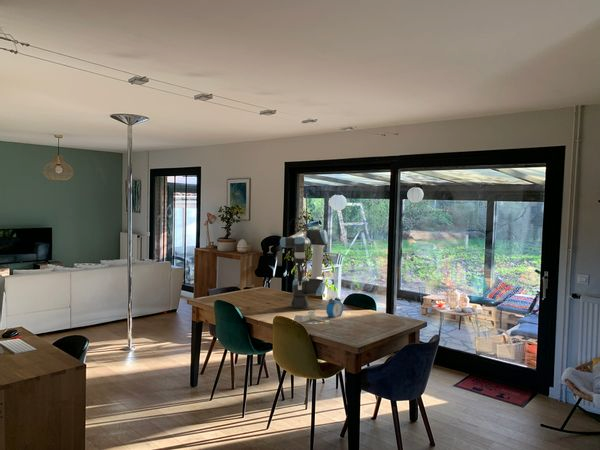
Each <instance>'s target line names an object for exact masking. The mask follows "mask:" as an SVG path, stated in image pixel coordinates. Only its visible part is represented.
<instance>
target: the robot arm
mask: <svg viewBox="0 0 600 450" xmlns="http://www.w3.org/2000/svg"><path fill="white" fill-rule="evenodd" d="M328 241H329V238H328V233H327V231H326V229H318V228H316V229H315V228H309V229H308V228H307V229H303V230H300V231H298V232H296V233H295V234H293V235H290V236H288V237H286V236H285V237H284V236H283V237H281V238H280V239H279V245H280V246H281V247H282V248H294V253H293V255H294V263H295V264H297V265H296V271H297V274H296V275H297V276H296V277H297V278H295V279H294V280H293V281H292V297H291V302H290V308H291V309H292V308H293V309H307V308H309V306H310V305H309V301H308V298H307V297H308V296H317V297H318V296H323V295H324V293H325V290H326V282H325V281H324V278H323V275H322V274H323V258H324V248H325V247H326V245H327V244H328ZM310 245H311V247H312V260H311V274H310V275H311V276H310V277H309V279H308V278H306V277H303V273H304V272H303V270H304V269H303V268H304V265H303V264H305V263H306V248H308V247H310Z"/></svg>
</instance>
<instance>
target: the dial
mask: <svg viewBox="0 0 600 450" xmlns="http://www.w3.org/2000/svg"><path fill="white" fill-rule="evenodd" d="M301 316H302V322H306V321H309V320H310V321H314V320H317V321H322V322H326V321H323V320H318V319H316V316H317V313H316V311H314V310H308V312H307V313H305V314H302V315H301Z"/></svg>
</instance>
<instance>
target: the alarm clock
mask: <svg viewBox="0 0 600 450" xmlns="http://www.w3.org/2000/svg"><path fill="white" fill-rule="evenodd" d="M325 311H326V315H327V317H330V318H337V317H341V316H342V314H343V313H344V312H343V311H344V305H343V303H342V300H341V298H340V297H335V298H330V299H329V300H328V302H327V305H326V309H325Z"/></svg>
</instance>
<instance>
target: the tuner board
mask: <svg viewBox="0 0 600 450" xmlns="http://www.w3.org/2000/svg"><path fill="white" fill-rule="evenodd" d="M316 319H318V320H323V321H326V322H322V321H317V320H314V321H310V320H309V321H306V322H302V315H295V316H294V318H293V320H295V321H297V322H299V323H298V324H308V325H313V324H314V325H330V322H331V317H330V316H323V315H321V316H319V315H316Z"/></svg>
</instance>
